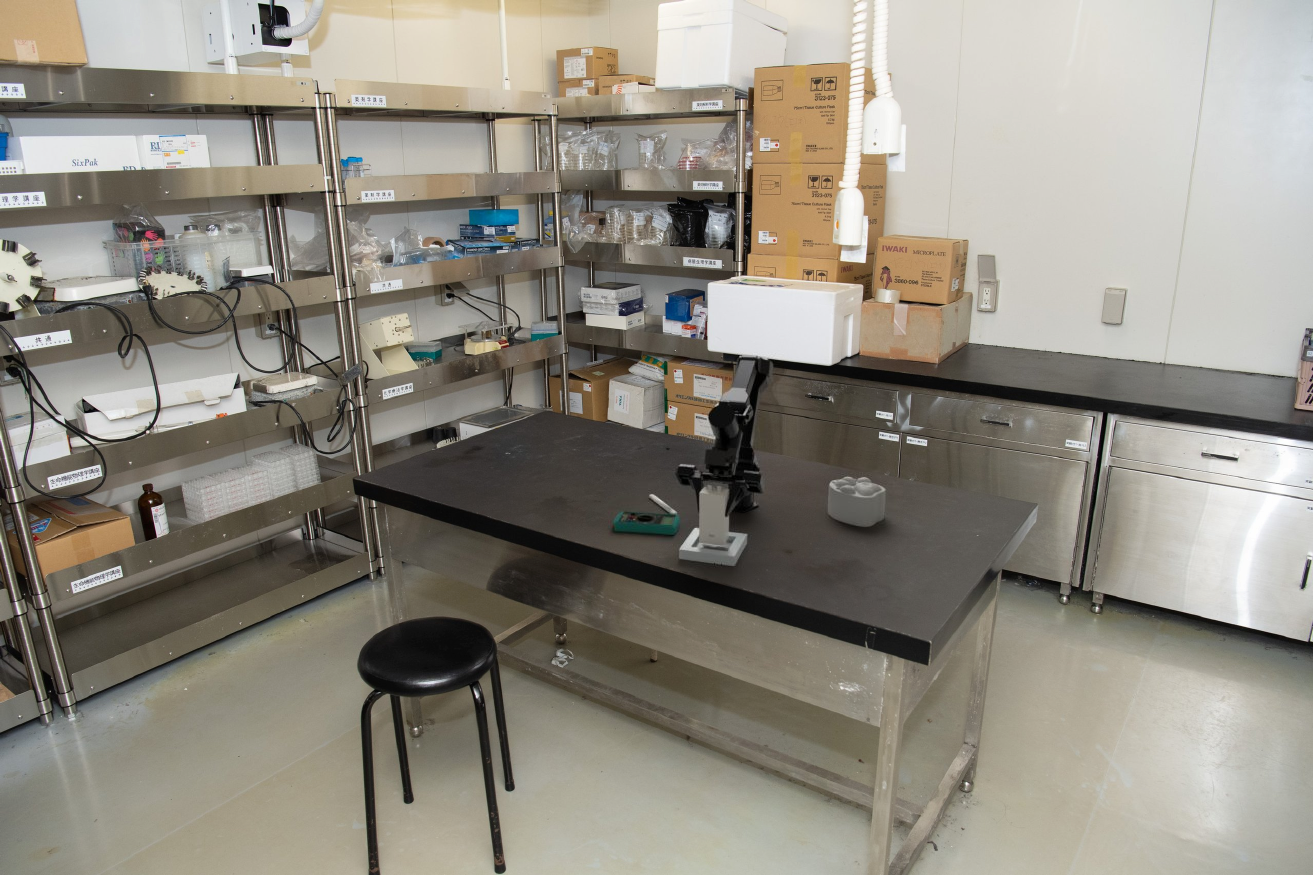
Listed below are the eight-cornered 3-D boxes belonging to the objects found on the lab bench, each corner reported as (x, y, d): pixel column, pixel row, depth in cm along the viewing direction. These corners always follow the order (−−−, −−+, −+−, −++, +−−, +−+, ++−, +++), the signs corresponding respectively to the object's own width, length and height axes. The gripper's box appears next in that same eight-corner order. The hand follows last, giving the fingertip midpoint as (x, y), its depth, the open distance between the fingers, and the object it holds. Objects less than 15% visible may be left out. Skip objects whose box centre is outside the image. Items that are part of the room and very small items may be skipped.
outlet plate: (694, 536, 195) (694, 527, 194) (747, 543, 191) (747, 534, 190) (679, 558, 184) (679, 549, 183) (734, 566, 180) (734, 556, 179)
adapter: (704, 535, 189) (704, 480, 186) (728, 538, 188) (729, 483, 184) (699, 542, 186) (699, 487, 182) (724, 545, 184) (724, 490, 180)
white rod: (649, 498, 218) (648, 493, 218) (653, 497, 218) (653, 493, 218) (672, 516, 206) (672, 512, 206) (677, 515, 207) (677, 511, 206)
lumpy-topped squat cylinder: (865, 529, 198) (868, 494, 195) (817, 514, 207) (819, 480, 204) (888, 516, 205) (891, 482, 203) (841, 502, 214) (843, 469, 211)
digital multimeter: (619, 520, 205) (618, 508, 204) (680, 524, 202) (680, 513, 202) (611, 533, 198) (611, 521, 197) (675, 537, 196) (675, 525, 195)
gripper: (677, 428, 186) (662, 494, 180) (763, 436, 180) (750, 504, 174) (688, 452, 196) (673, 515, 189) (769, 460, 190) (757, 525, 183)
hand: (712, 514), depth 184 cm, fingers closed on adapter, 5 cm apart
